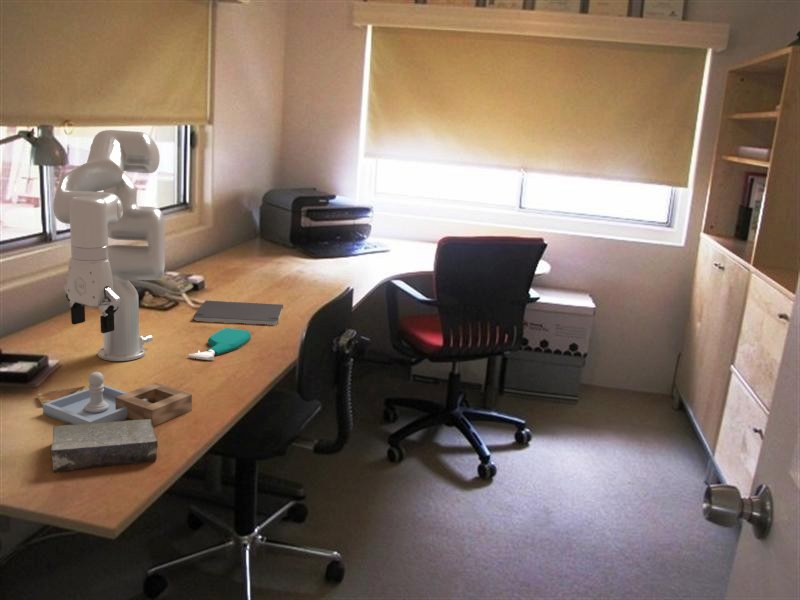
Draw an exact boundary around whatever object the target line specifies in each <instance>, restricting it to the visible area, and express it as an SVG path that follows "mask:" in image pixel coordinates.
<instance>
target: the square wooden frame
mask: <svg viewBox="0 0 800 600" xmlns="http://www.w3.org/2000/svg"><path fill="white" fill-rule="evenodd" d="M192 397H193V394H192V393H189V392H185V391H182V390H179V389H176V388H173V387H170V386H168V385H164V384H161V383H157V382H153V383H151V384H148V385H145V386H142V387H140V388H137V389H134V390H132V391H130V392H127V393H126V394H123V395H120V396H118V397H115V404H116V410H117V409H120V408H122V407H127V408H128V418H127V419H129V420H142V419H151V422H152V425H153V428H154V427H156V426H158V425H161V424H162V423H165V422H167V421H170V420H172V419H174V418H176V417H179V416H182V415H183V414H186V413H189V412H191V411H192V410H193V398H192ZM142 399H147V400H148V402H147V401H144V400H142Z"/></svg>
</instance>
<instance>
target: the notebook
mask: <svg viewBox="0 0 800 600" xmlns="http://www.w3.org/2000/svg"><path fill="white" fill-rule="evenodd" d="M283 309H284V304H279V303H278V304H276V303H259V302H256V303H255V302H241V301H240V302H239V301H222V300H221V301H220V300H205V301H204V302H203V303H202V304H201V305H200V307H199V308H198V310H197V311H196V312H195V313H194V315H193V321H194V320H196V321H207V322H206V323H214V322H228V323H227V324H235V323H244V324H243V325H256V324H265V325H264V326H276V324H277V325H278V323H279V319H280V316H281V314H282V311H283ZM196 321H195V322H196ZM277 322H278V323H277ZM245 323H246V324H245ZM266 324H267V325H266Z"/></svg>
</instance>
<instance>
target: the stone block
mask: <svg viewBox="0 0 800 600" xmlns="http://www.w3.org/2000/svg"><path fill="white" fill-rule="evenodd" d="M52 431H53V433H52V434H53V435H52V445H51V446H50V456H51V458H52V473H53V472H54V473H55V474H58V473H57V472H59V473H65V472H66V473H67V472H73V471H75V472H76V471H81V470H89V469H90V470H91V469H100V468H109V467H110V466H111V467H117V466H118V467H119V466H127V465H128V466H129V465H139V464H145V463H153V462H156V460H157V458H158V457H157V453H158V447H159V445H158V438H157V436H156V434H155V433H156V432H155V429H154V427H153V425H152V422H151V419H142V420H132V419H129V420H121V421H115V422H102V423H88V424H74V425H70V424H65V425H64V424H63V425H54V426H53V430H52Z"/></svg>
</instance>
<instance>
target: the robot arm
mask: <svg viewBox="0 0 800 600" xmlns="http://www.w3.org/2000/svg"><path fill="white" fill-rule="evenodd" d="M160 158H161V157H160V152H159V148H158V146H157V144H156V142H155V141H154V139H153V138H152V136H150V135H149V134H147V133H145V132H143V131H131V130H117V129H116V130H115V129H106V130H101V131H99V132H98V133H97V134H96V135H95V136H94V138H93V140H92V143H91V145H90V150H89V153H88V157H87V161H86V162H84V163H83V164H80V165H79V166H77V167H75V168H74V169H72V170H70V171H68V172H67V173H66V174H65V175H63V177H61V178H60V181H59V182H58V186H57V188H56V190H55V194H54V199H53V203H52V204H53V205H52V206H53V207H52V208H53V209H52V210H53V214H54V216H55V218H56V219H57V221H58V222H60V223H63V224H65V225H66V224H67V225H69V229H70V233H69V234H70V253H71V254H70V255H71V257H70V258H69V261H68V267H67V268H68V269H67V280H66V281H67V282H66V283H65V284H64V285H63V289H64V292H65V297H66V299H67V301H68V306H69V307H70V316H71V317H70V318H71V319H70V321H71V324H72V325H78V324H82V323H85V322H86V309H85V308H86V307H90V308H98V309H99V311H100V313H101V315H100V319H99V320H100V333H101V334H102V335H103V336H102V337H103V347H101V348H99V349H98V350H97V357H99V358H100V359H102V360H105V361H109V362H110V361H111V362H128V361H133V360H136V359H139V358H142V357H143V356H145V354H146V348H145V347H144V344H148V343H151V342H152V341H153V339H154V338H153V336H152V335H150V334H149V335H145V336H144V337H143V335H140V311H139V309H140V307H139V306H140V305H139V304H140V303H139V301H140V300H139V299H140V298H139V294H138V291H137V289H136V288H135V286H134V285H133V284H132V282H130V281H143V280H144V281H156V280H160V279H161V278H162V277H163V276H164V274H165V273H164V272H165V269H166V268H165V267H166V265H165V264H166V263H165V262H166V258H165V257H166V253H165V252H166V247H165V246H166V239H165V238H166V226H165V224H166V223H165V218H164V217H165V216H164V214H163V212H162V210H161V209H159V208H157V207H155V206H154V207H153V206H140V205H138V204H137V203H138V202H137V195H138V194H137V186H136V185H135V183H134V181H132V179H131V178H130V176H128V174H127V173H139V174H140V173H141V174H152V173H155V172H156V171H157V170H158V167H159V166H160ZM109 239H112V240H116V241H137V242H138V241H139V242H146V243H147V245H132V244H111V245H109ZM85 306H86V307H85Z"/></svg>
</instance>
